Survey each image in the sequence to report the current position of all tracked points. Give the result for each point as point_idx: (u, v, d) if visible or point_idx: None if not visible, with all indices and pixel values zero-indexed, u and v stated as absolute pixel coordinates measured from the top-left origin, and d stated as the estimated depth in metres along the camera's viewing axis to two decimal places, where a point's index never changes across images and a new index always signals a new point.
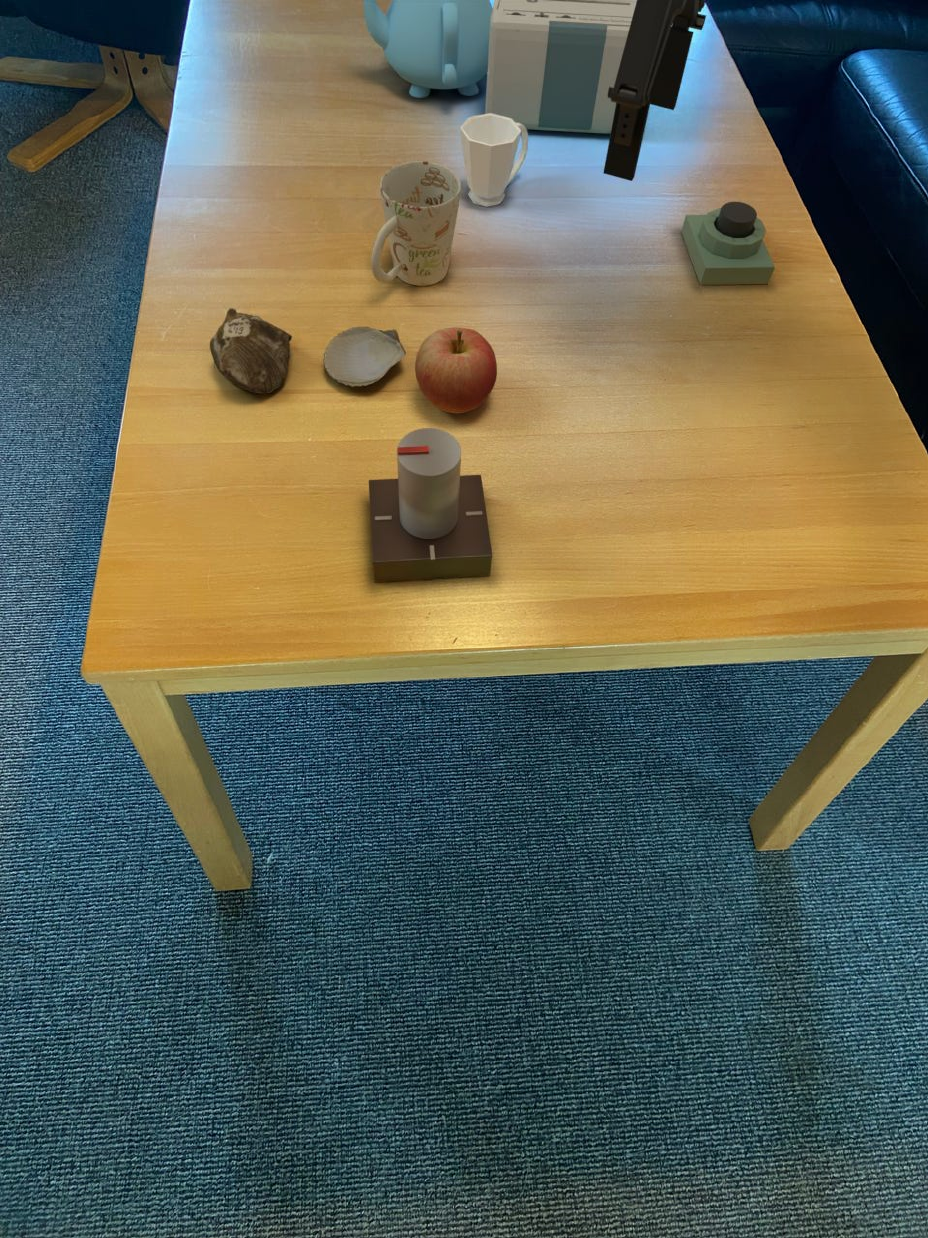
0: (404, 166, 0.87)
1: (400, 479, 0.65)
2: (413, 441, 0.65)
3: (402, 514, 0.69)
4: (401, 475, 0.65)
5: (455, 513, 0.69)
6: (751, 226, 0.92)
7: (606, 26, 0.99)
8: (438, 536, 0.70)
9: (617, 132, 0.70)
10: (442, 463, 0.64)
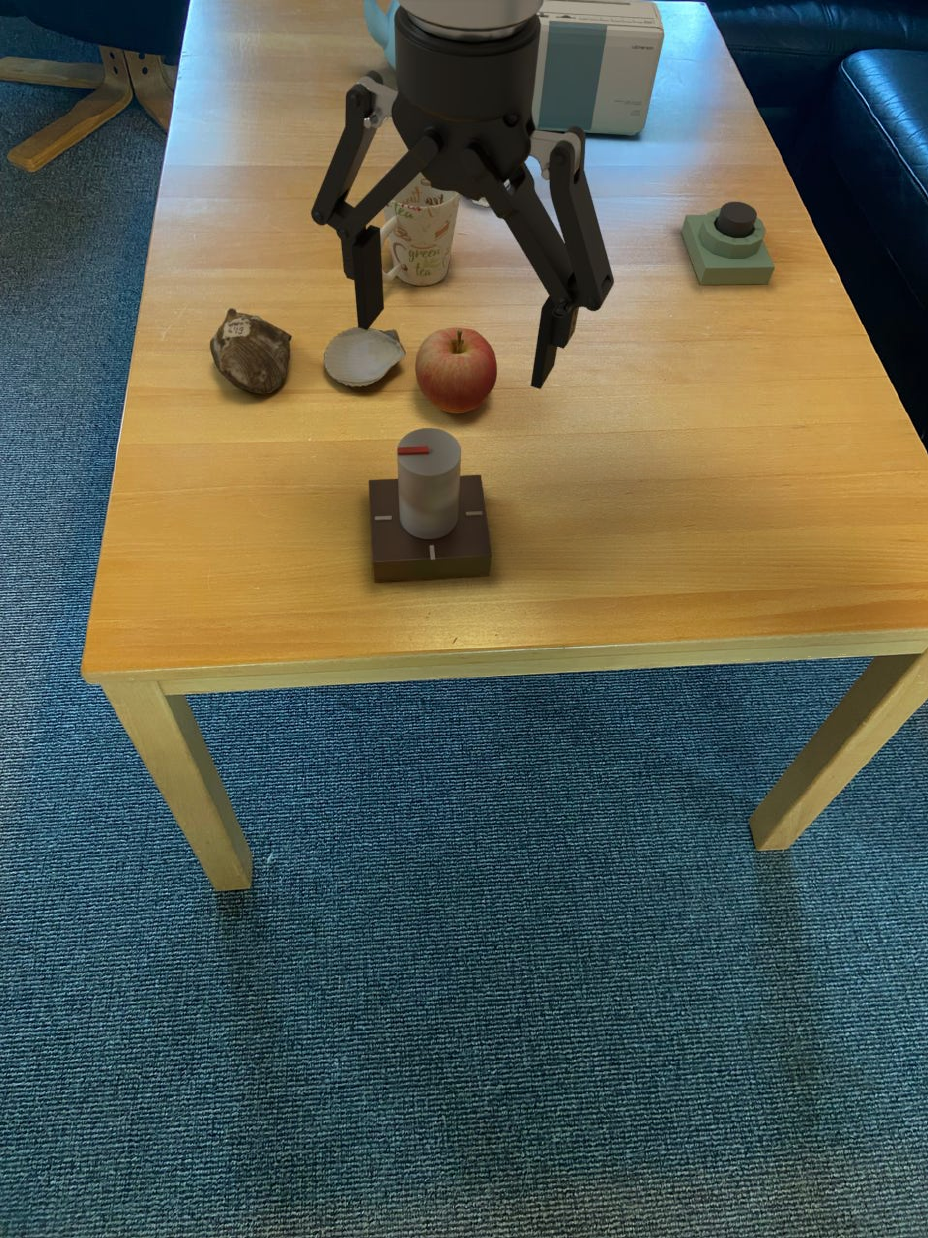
0: None
1: (400, 479, 0.65)
2: (413, 441, 0.65)
3: (402, 514, 0.69)
4: (401, 475, 0.65)
5: (455, 513, 0.69)
6: (751, 226, 0.92)
7: (606, 26, 0.99)
8: (438, 536, 0.70)
9: (569, 336, 0.54)
10: (442, 463, 0.64)
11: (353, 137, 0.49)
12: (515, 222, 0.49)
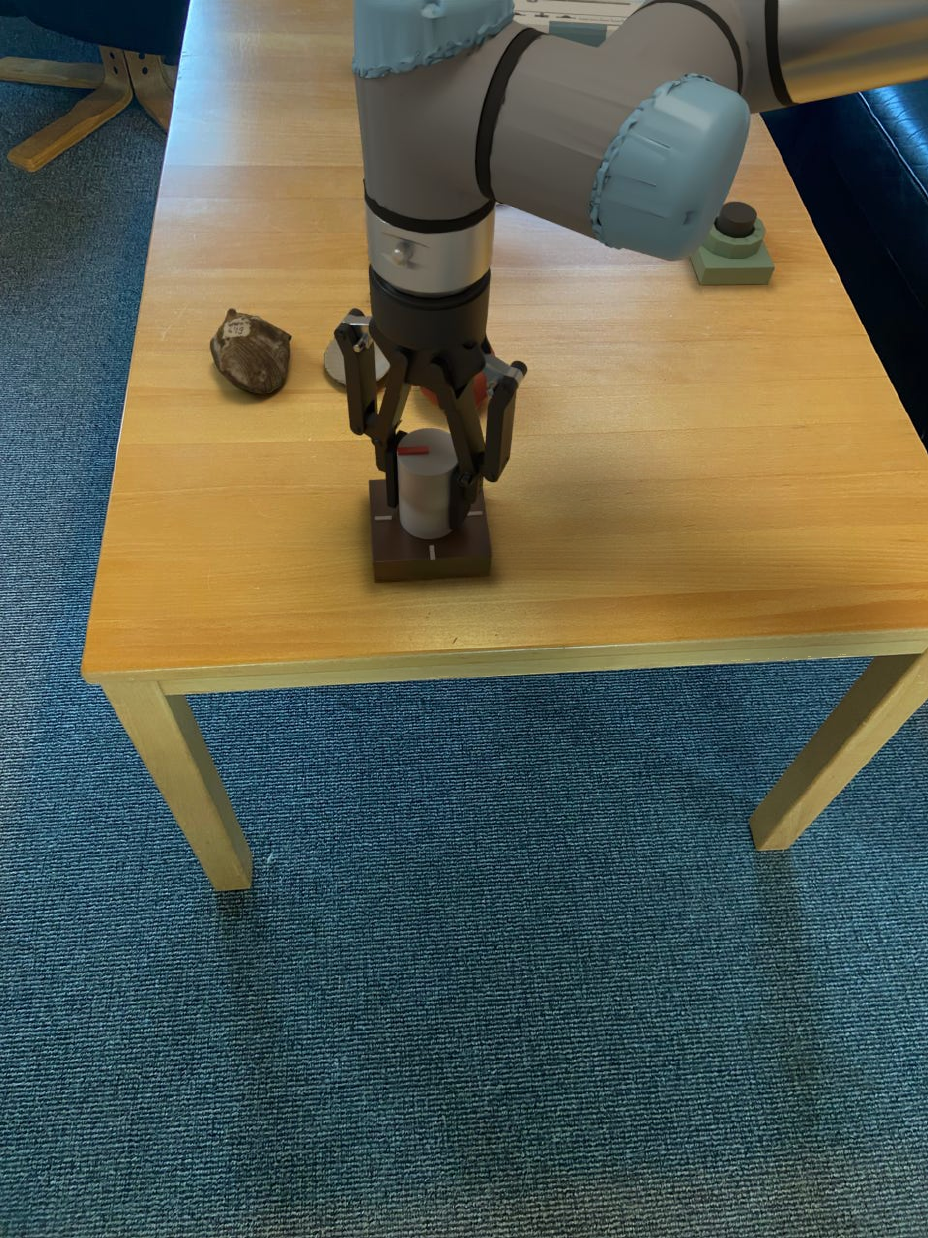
0: None
1: (400, 479, 0.65)
2: (413, 441, 0.65)
3: (402, 514, 0.69)
4: (401, 475, 0.65)
5: None
6: (751, 226, 0.92)
7: (606, 26, 0.99)
8: (438, 536, 0.70)
9: (477, 495, 0.65)
10: (442, 463, 0.64)
11: (352, 362, 0.58)
12: (452, 415, 0.58)
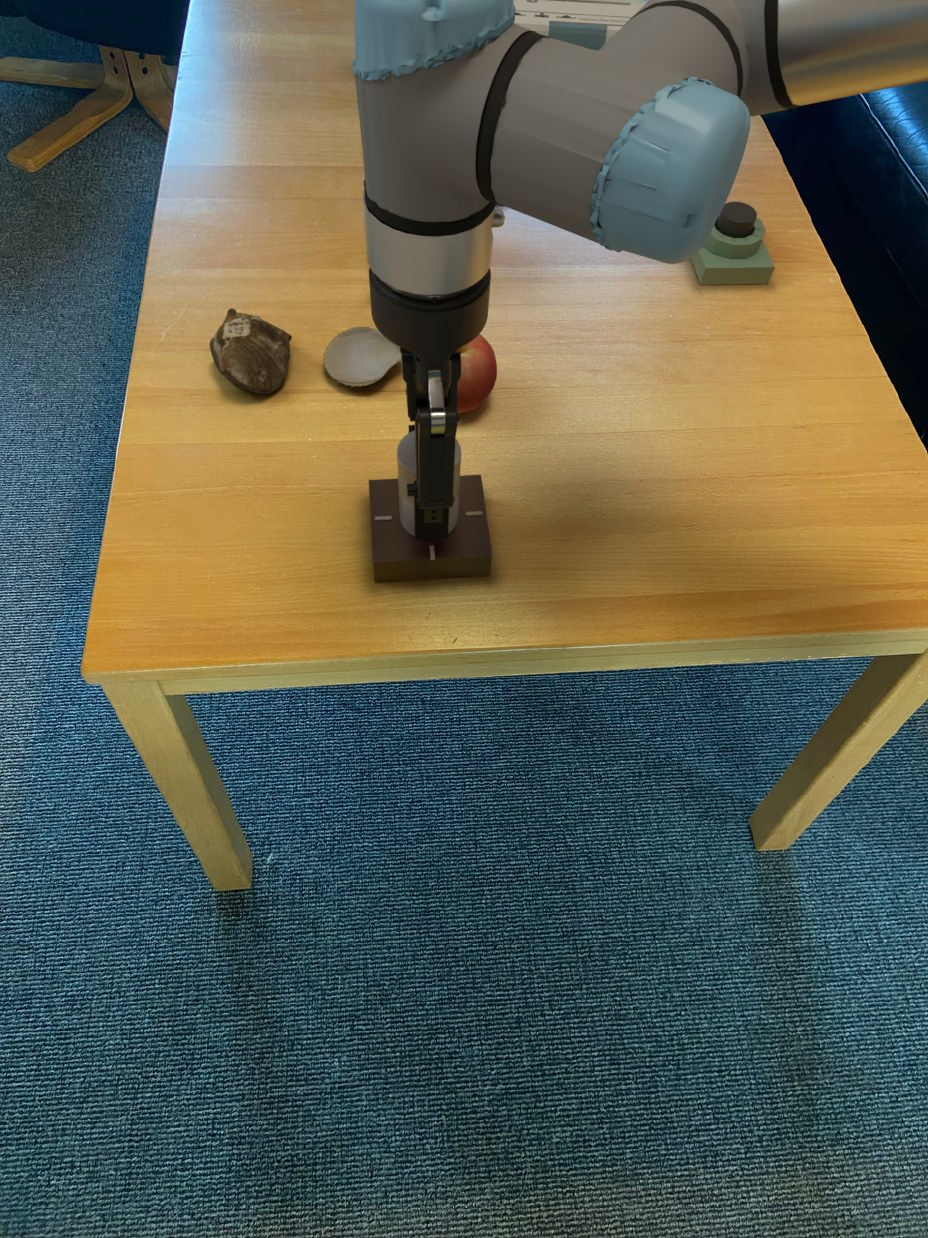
0: None
1: (454, 484, 0.65)
2: None
3: (454, 516, 0.69)
4: (456, 476, 0.65)
5: None
6: (751, 226, 0.92)
7: (606, 26, 0.99)
8: None
9: None
10: None
11: None
12: None
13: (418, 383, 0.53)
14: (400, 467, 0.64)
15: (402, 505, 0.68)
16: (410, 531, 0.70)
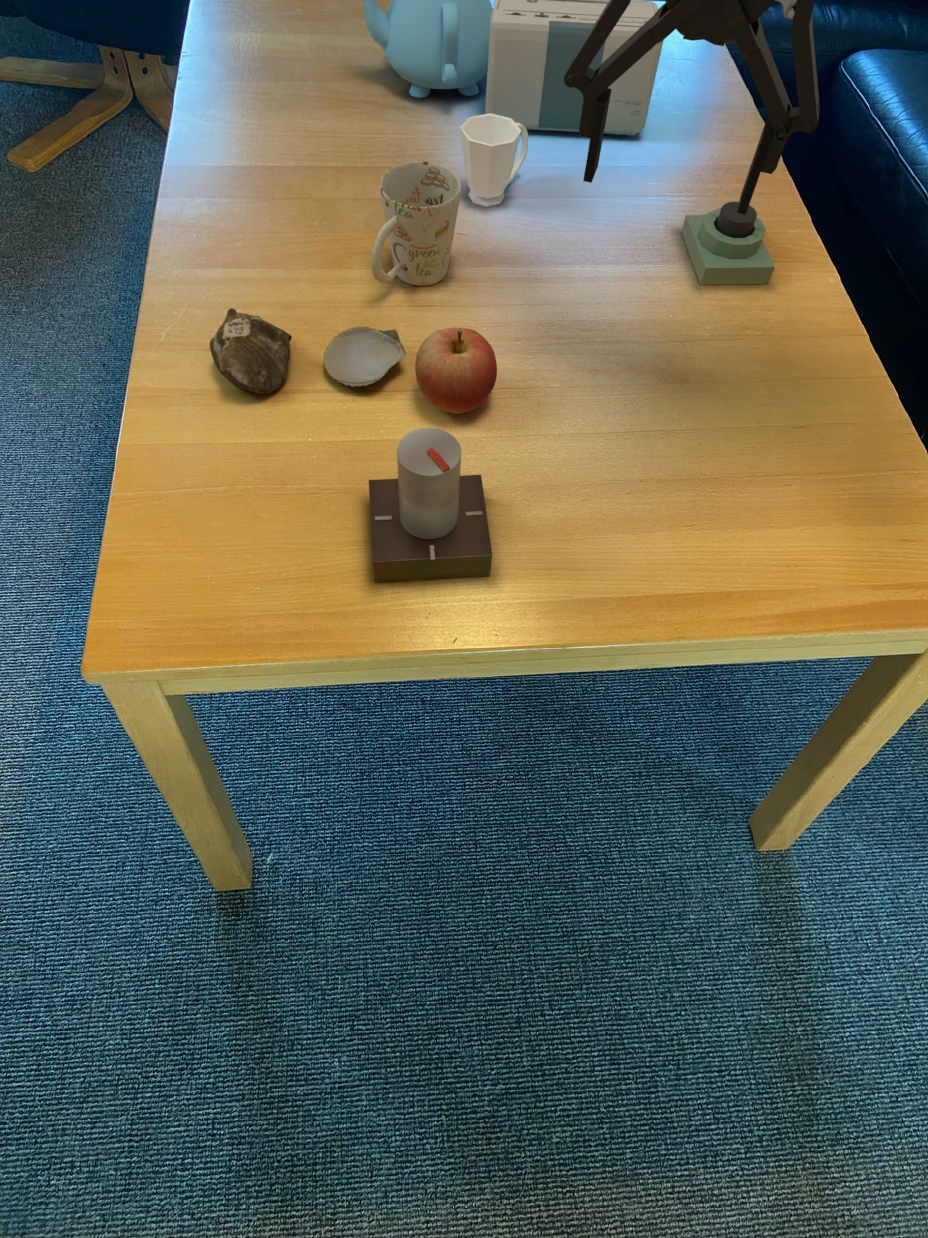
0: (404, 166, 0.87)
1: (454, 484, 0.65)
2: (426, 466, 0.63)
3: (454, 516, 0.69)
4: (456, 476, 0.65)
5: None
6: (751, 226, 0.92)
7: None
8: None
9: None
10: (437, 437, 0.65)
11: None
12: None
13: None
14: (400, 467, 0.64)
15: (402, 505, 0.68)
16: (410, 531, 0.70)
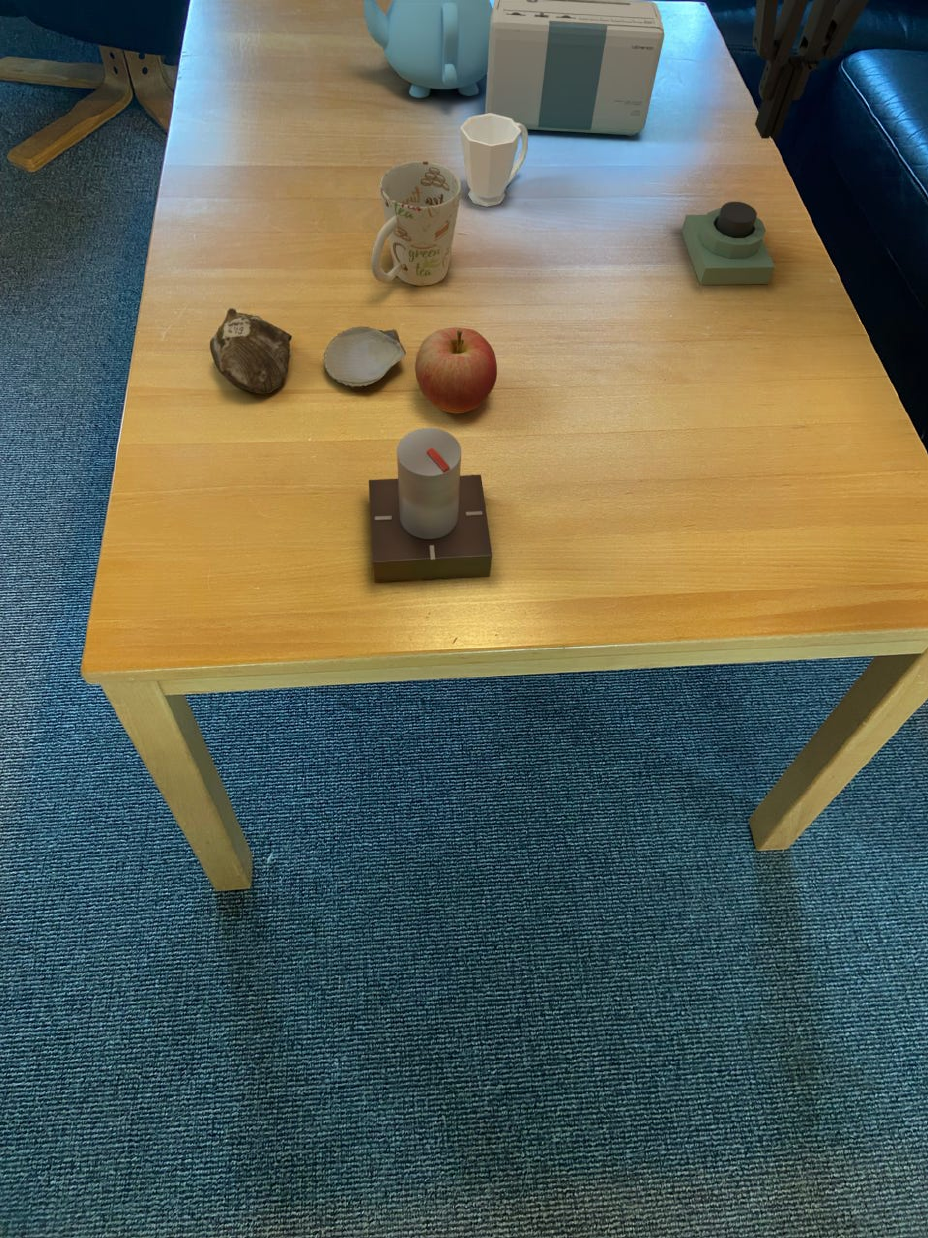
0: (404, 166, 0.87)
1: (454, 484, 0.65)
2: (426, 466, 0.63)
3: (454, 516, 0.69)
4: (456, 476, 0.65)
5: None
6: (751, 226, 0.92)
7: (606, 26, 0.99)
8: None
9: (760, 82, 0.81)
10: (437, 437, 0.65)
11: None
12: None
13: None
14: (400, 467, 0.64)
15: (402, 505, 0.68)
16: (410, 531, 0.70)
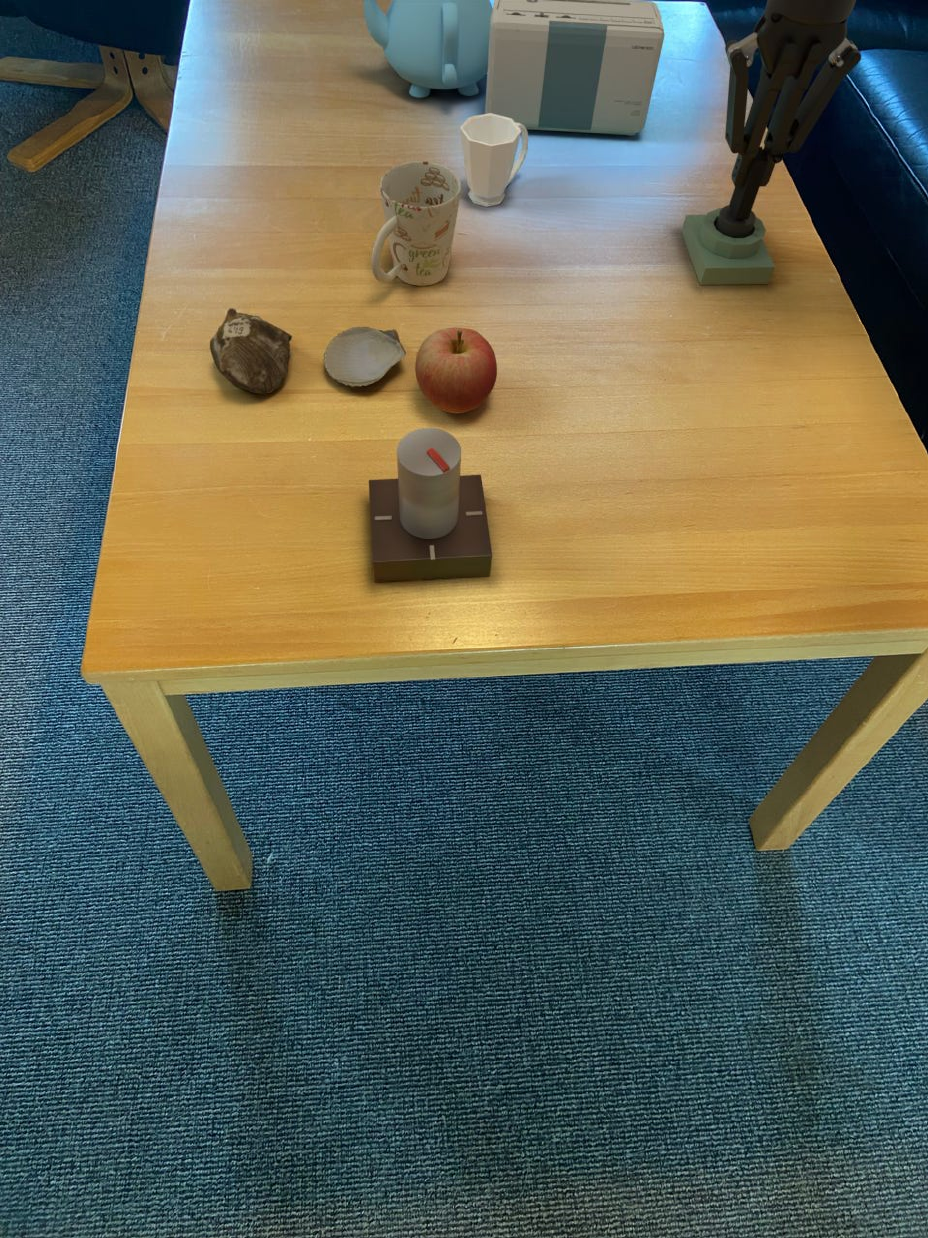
0: (404, 166, 0.87)
1: (454, 484, 0.65)
2: (426, 466, 0.63)
3: (454, 516, 0.69)
4: (456, 476, 0.65)
5: None
6: (750, 229, 0.92)
7: (606, 26, 0.99)
8: None
9: (732, 171, 0.89)
10: (437, 437, 0.65)
11: None
12: None
13: (842, 39, 0.77)
14: (400, 467, 0.64)
15: (402, 505, 0.68)
16: (410, 531, 0.70)
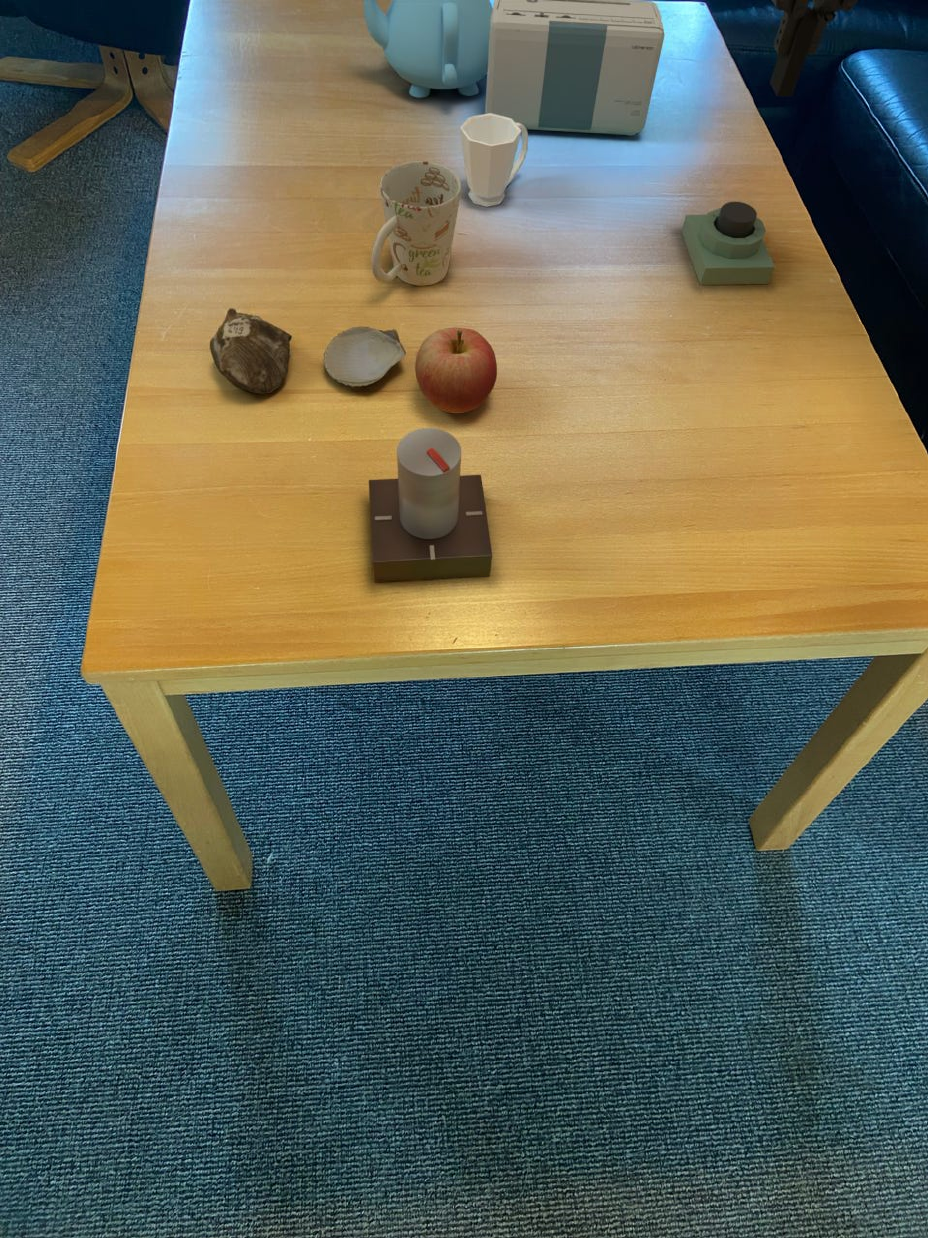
0: (404, 166, 0.87)
1: (454, 484, 0.65)
2: (426, 466, 0.63)
3: (454, 516, 0.69)
4: (456, 476, 0.65)
5: None
6: (751, 226, 0.92)
7: (606, 26, 0.99)
8: None
9: (776, 37, 0.78)
10: (437, 437, 0.65)
11: None
12: None
13: None
14: (400, 467, 0.64)
15: (402, 505, 0.68)
16: (410, 531, 0.70)
